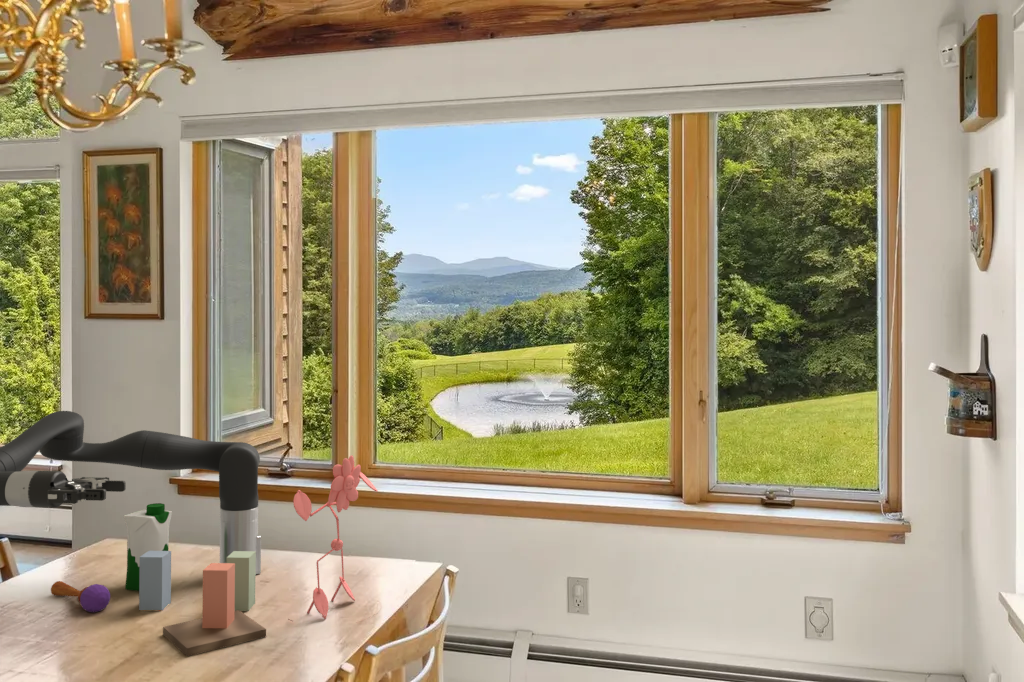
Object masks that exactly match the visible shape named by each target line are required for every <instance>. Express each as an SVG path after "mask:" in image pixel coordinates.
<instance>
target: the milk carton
mask: <svg viewBox="0 0 1024 682" xmlns="http://www.w3.org/2000/svg"><path fill="white" fill-rule="evenodd" d="M165 507H166V506H165V503H160V502H159V503H148V504H147V505H146V508H144V509H140V510H137V511H134V512H131V513H128V514H124V515H123V518H124V522H125V526H126V530H127V531H126V532H127V536H126V537H127V538H126V539H127V542H126V544H127V547H126V549H127V550H126V551H127V552H126V576H125V577H126V578H125V585H124V586H125V588H124V589H125V590H127V591H128V590H129V591H136V592H139V574H140V556H142V555H143V554H145V553H146V552H148V551H169V542H170V540H169V538H170V537H169V533H170V532H169V531H170V526H171V525H170V524H171V520H172V515H173V511H172V510H166V509H165Z"/></svg>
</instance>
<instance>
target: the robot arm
mask: <svg viewBox="0 0 1024 682" xmlns="http://www.w3.org/2000/svg"><path fill="white" fill-rule="evenodd" d="M84 421H85V420H84V418H83V416H82V415H81V414H79V413H77V412H76V411H69V410H60V411H59V410H58V411H53V412H51V413H49V414H47V415H45V416H44V417H42V418H41V419H39V420H38V421H36V423H34V424H33V425H30V426H29V428H27V429H26V430H24V431H23V432H22V433H21V434H19V435H18V436H17V437H15V438H13V439H12V440H11V441H9V442H7V443H6V444H4V445H3V446H1V447H0V506H1V507H2V506H5V507H9V506H11V507H19V508H37V509H38V508H41V509H42V508H43V509H45V508H48V509H52V508H53V509H55V508H60V507H61V506H62V504H75V505H76V504H77V503H79V502H81V503H83V502H86V501H104V500H106V498H107V492H111V493H112V492H117V493H118V492H119V493H121V492H125V491H126V481H125V480H110V477H108V476H105V477H95V476H94V477H85V476H82V477H80V478H79V477H78V478H71V480H69V479H68V478H67V475H66V474H65V473H64V472H63V471H61V470H24V469H25V468H26V467H27V466H28V465H29V464H30V463H31V461H32V460H33V458H35V456H36V455H37V454H38V453H39V452H40V454H41V456H43V457H45V458H47V459H50V460H54V461H62V462H65V461H66V462H80V463H82V462H83V463H101V464H102V463H104V464H112V465H120V466H121V465H122V466H129V467H134V468H136V467H137V468H141V469H142V468H143V469H148V470H149V469H150V470H158V471H181V470H182V471H183V470H196V469H197V470H208V471H213V472H218V493H219V494H218V496H219V508H220V509H219V563H227V557H228V556H229V555H230V554H231V553H232V552H233V551H256V575H257V574H261V569H262V568H261V566H262V537H261V535H259V489H258V486H259V485H258V484H259V476H258V473H259V464H260V461H261V459H260V453H259V451H258V450H257V448H255V446H253V444H252V445H251V444H250V443H248V442H242V441H241V442H239V441H237V442H236V441H212V440H205V439H204V440H203V439H199V438H193V437H190V436H184V435H179V434H174V433H173V434H172V433H167V432H162V431H161V432H160V431H154V430H147V429H146V430H143V429H141V430H137V431H134V432H131V433H129V434H126V435H123V436H121V437H118V438H116V439H114V440H110V441H107V442H100V443H99V442H97V443H95V442H94V443H92V442H90V443H89V442H84V433H85V423H84ZM99 484H101V486H99Z"/></svg>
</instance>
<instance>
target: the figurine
mask: <svg viewBox="0 0 1024 682" xmlns="http://www.w3.org/2000/svg"><path fill="white" fill-rule="evenodd" d="M332 475H333V480H332V482H331V484H330V491H329V495H328V501H327V502H326V503H325V504H323V505H322V506H320V507H319V508H318V509H316V510H314V511H313V512H312V507H313V506H312V501H311V499H310V498H309V497H308V495H307V494H306V493H305V492H303V491H301V490H300V489H298V490H297V491H296V493H295V494H294V497H293V501H292V503H293V508H294V510H295V512H296V514H297V515H298V516H299V517H300V518H301V519H302V520H303V521H305V522H307V521H308V520H309V518H310V517H312V516H314V515H316V514H317V513H318V512H320V511H322V510H323V509H324V508H326V507H328V508H329V509H330V511H331V513H332V515H333V516H334V518H335V519H336V520H335V521H336V523H335V524H336V532H337V533H336V534H337V538H334V539H333V540H332V541H331V543H330V548H331V550H329V551H328V552H326V553H325V554H324V555H323V556H321V557H320V558H318V559H317V560H316V575H317V576H316V578H317V587H315V589H313V593H312V602H311V604H310V605H309V607H308V609H307V612H306V613H307V614H310V612H311V611H312V609H313V607H314V606H315V609H316V611H317V612H318V613H319V615H320V616H321V617H322V618H323V620H326V619H327V617H328V613H329V609H330V608H329V601H328V597H327V595H326V592H325V591H324V590H323V589H322V588H320V586H321V585H320V573H319V572H320V571H319V562H320V561H321V560H323V559H324V558H325V557H326V556H328V555H330V554H331V553H332V552H334V551H335V552H338V551H341V552H340V553H341V554H340V557H341V574H342V575H339V577H338V578H339V583H338V586H337V587H336V590H335V592H334V594H333V595H332V597H331V601H332V602H334V600H335V598H336V596H337V594H338V592H339V591H340V589H341V586H342V588H343V589H344V591H345V593H346V594H347V595H348V597H349V598H350V599H352V601H353V602H355V601H356V599H355V597H354V594H353V592H352V590H351V588H350V586H349V584H348V583H347V582H346V580H345V571H344V570H345V569H344V551H343V547H344V542H343V540H341V539H340V521H339V516H338V515H337V513H341V512H342V511H343V510H344V511H348V508H349V507H350V502H355V501H357V500H358V499H359V491H358V490H357V487H358V486H359V484H360V481H363V483H364V484H365V485H366V486H367V487H369V489H371V490H372V491H374V492H378V489H377V488H376V486H375V485H374V484H373V482H372V481H371V480H370V479H369V478H368V477H367V476H366V474H364V473H363V472H362V467H361V464H356V465H355V457H354V456H353V455H351V454H350V456H349V457H348V458H347V457H345V458H343V460H342V464H338V463H337V464H334V466H333V467H332ZM333 505H336V512H337V513H336V512H335V511H334V508H333V507H332V506H333ZM287 620H288V621H291V622H293V620H292V619H289V618H287Z"/></svg>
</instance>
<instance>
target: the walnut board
mask: <svg viewBox="0 0 1024 682" xmlns="http://www.w3.org/2000/svg"><path fill="white" fill-rule="evenodd" d="M162 635H163V636H164V637H165V638H166V639H167V640H168V641H169V642H171V644H173V645H174V646H175V647H176V649H177V648H178V650H179V651H181V653H183V654H184V655H185V656H186V657H190V656H195V655H198V654H202V653H207V652H210V651H214V650H219V649H223V648H227V647H230V646H234V645H238V644H243V643H246V642H250V641H254V640H258V638H259V639H262V638H261V637H263V638H266V637H267V628H265V627H264V626H262V625H261V624H260V623H258V622H257V621H255V620H254V619H252V618H251V617H249V616H248V615H246V614H245V613H243V611H239V610H237V611H234V621H233V622H232V623H231V624H230V625H229V626H228V628H202V617H201V618H196V619H192V620H188V621H183V622H179V623H175V624H170V625H165V626H163V627H162ZM265 636H266V637H265Z"/></svg>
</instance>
